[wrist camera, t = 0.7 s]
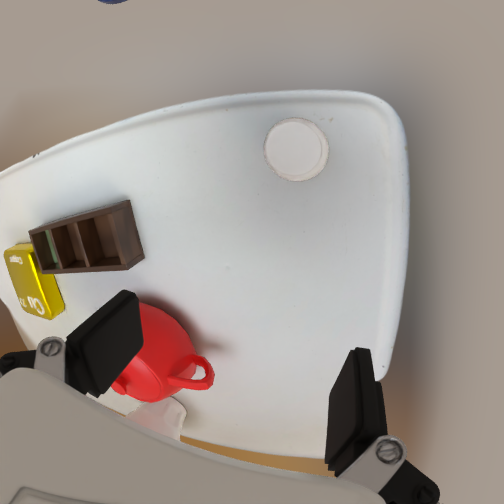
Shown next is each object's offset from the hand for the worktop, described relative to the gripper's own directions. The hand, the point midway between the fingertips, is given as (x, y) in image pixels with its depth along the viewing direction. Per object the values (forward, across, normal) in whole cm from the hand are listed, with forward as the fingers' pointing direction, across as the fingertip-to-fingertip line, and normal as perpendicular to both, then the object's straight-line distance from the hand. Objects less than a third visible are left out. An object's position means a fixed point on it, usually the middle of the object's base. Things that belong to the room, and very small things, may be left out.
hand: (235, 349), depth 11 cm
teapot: (+20, +17, +22) cm, 34 cm away
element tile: (+20, +48, +20) cm, 56 cm away
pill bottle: (+20, 0, -8) cm, 22 cm away
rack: (+20, +30, +8) cm, 37 cm away
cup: (+20, +16, +41) cm, 49 cm away
